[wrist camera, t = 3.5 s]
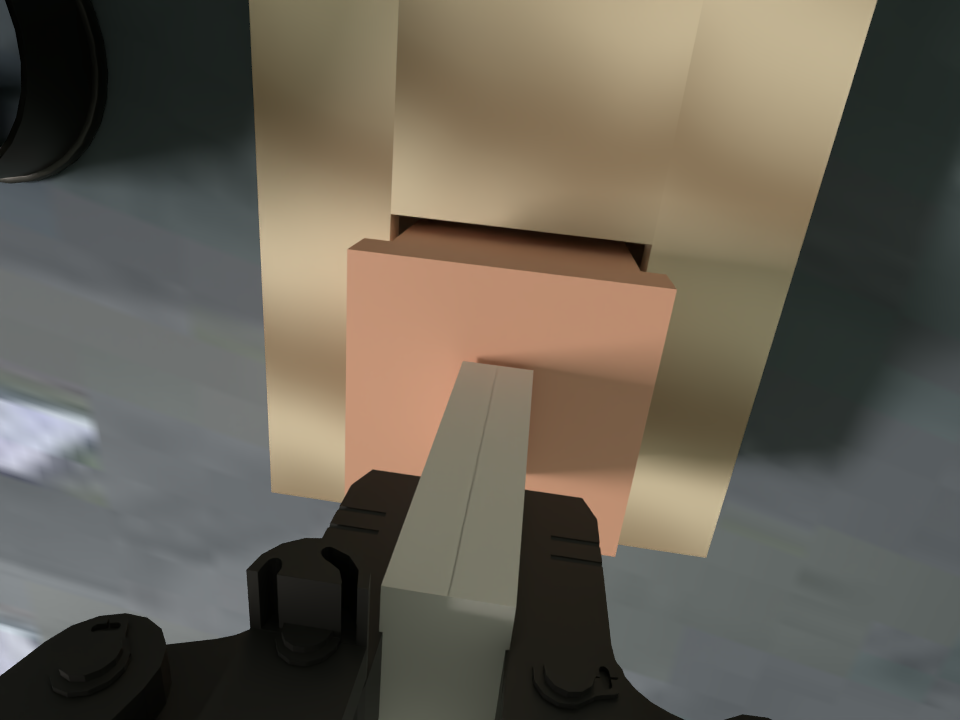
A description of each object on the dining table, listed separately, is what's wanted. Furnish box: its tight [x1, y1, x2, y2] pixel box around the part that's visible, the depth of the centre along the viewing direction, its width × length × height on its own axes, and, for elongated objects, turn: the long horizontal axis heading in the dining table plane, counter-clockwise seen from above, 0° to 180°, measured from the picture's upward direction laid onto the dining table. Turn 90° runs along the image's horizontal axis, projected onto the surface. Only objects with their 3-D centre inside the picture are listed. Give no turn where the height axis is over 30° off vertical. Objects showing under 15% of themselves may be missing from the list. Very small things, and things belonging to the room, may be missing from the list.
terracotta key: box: [345, 218, 677, 557], centre depth 16 cm, size 7×7×6 cm
